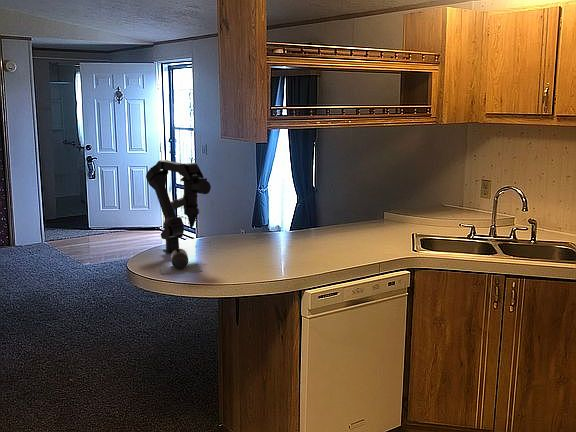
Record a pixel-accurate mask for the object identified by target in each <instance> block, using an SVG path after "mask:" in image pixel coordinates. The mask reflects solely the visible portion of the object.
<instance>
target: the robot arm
mask: <svg viewBox="0 0 576 432" xmlns="http://www.w3.org/2000/svg"><path fill="white" fill-rule="evenodd" d="M169 171H170V172H174V173H178V175H180V176H181V177H182V178H180V182H183V195H182V197H181V198H180V197H179V198H176V199H174V200H172V201H171V198H170V196H169V193H168V190H167V188H166V184H167V176H168V175H169ZM145 178H146V180H147V184H148V185H149V186H150V187H151V188H152V189H153V190H154V192H155V195H156V197H157V200H158V203H159V205H160V209H161V211H162V214H163V217H164V221H163V228H164V229H163V230H162V231H161V233H160V238H161V240H165V249H162V251H163V252H165V253H168V254H172V252H173V251H174V250H176V249H180V243H179V242H180V240H179V238H183V237H184V236H183V235H184V232H185V226H184V225H185V224H184V222H183V218H182V216H177V215H176V213H175V211H176V210H177V209H178V208H183V215H185V216H186V217H187V220H188V224H189V227H190V228H194V225H195V224H196V223H195V222H196V219H197V217H198V215H200V209H199V207H198V204H199V203H198V194H202V195H207V194H208V195H209V193H210V191H211V189H212V188H211V186H212V185H211V184H210V182H209V181H208V179H207V177H204V174H203V173H202V171H201V169H200V167H199V165H198V163H196V162H187V163H182V162H178V161H172V160H168V159H164V160H163V159H162V160H158V161H157V162H156V163H155V164H154V165H153V166H152V167H150V168H149V170H148V171H147V172H146V175H145ZM174 210H175V211H174Z"/></svg>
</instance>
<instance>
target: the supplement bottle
mask: <svg viewBox="0 0 576 432" xmlns="http://www.w3.org/2000/svg"><path fill="white" fill-rule="evenodd" d="M170 255H171V256H170V260H171V264H172V265H171V266H174V267H175V268H177V269H183V268H185V267H186V266H187V265H189V256H188V253H187V251H186V250H185V249H182V248H179V249H176V250H174V251H173V252H172V253H170Z"/></svg>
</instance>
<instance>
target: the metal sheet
mask: <svg viewBox="0 0 576 432" xmlns="http://www.w3.org/2000/svg"><path fill="white" fill-rule="evenodd" d="M159 271H160V274H161V275H172V274H173V275H174V274H175V273H176V274H185V272H190V273H202V272H203V269H202V268H201V266H200V265H199V264H197V263H196V264H188V265H187V266H186V267H185V268H183V269H177V268H175V267H174V266H173V265H170V266H169V265H168V266H167V265H166V266H159Z"/></svg>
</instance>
